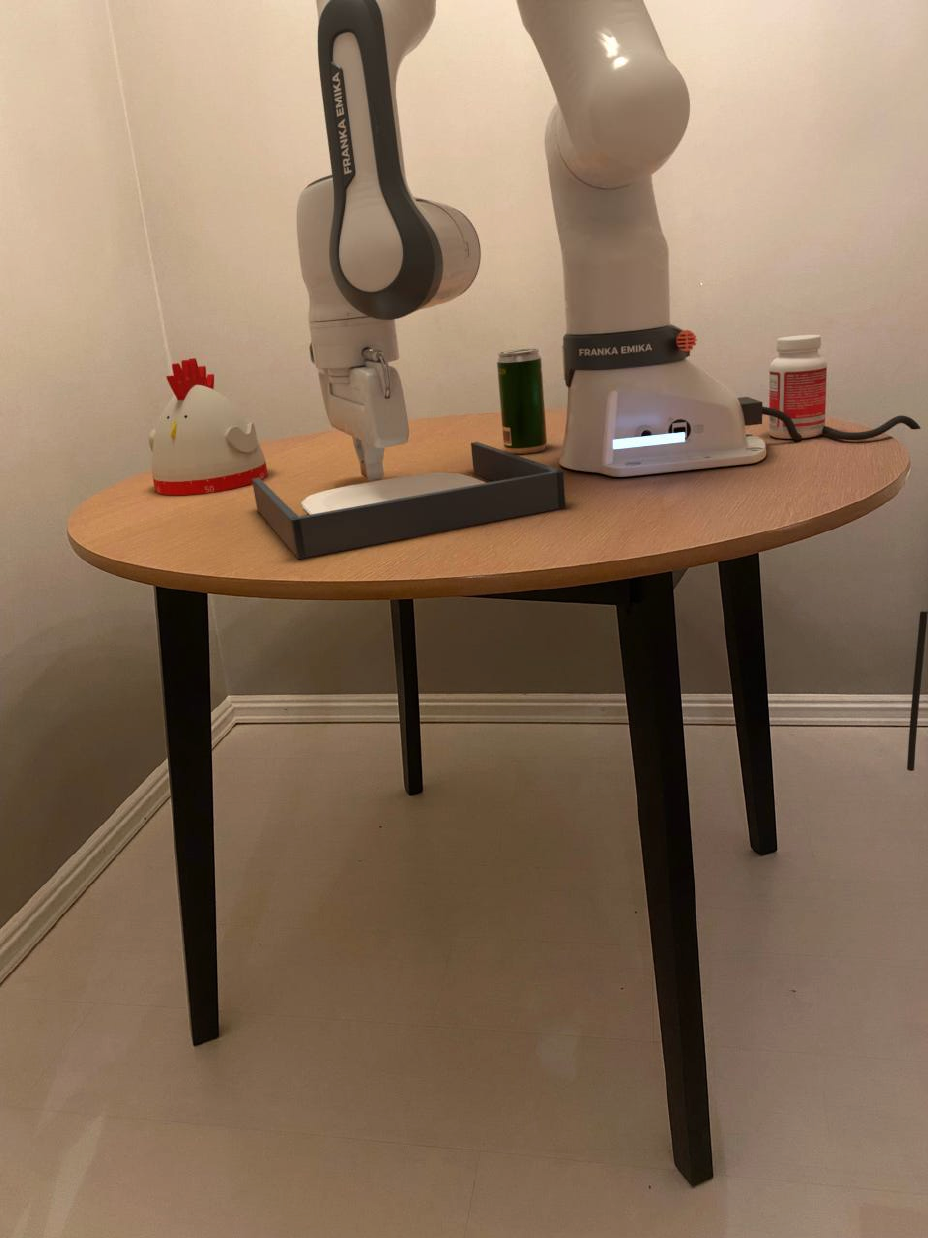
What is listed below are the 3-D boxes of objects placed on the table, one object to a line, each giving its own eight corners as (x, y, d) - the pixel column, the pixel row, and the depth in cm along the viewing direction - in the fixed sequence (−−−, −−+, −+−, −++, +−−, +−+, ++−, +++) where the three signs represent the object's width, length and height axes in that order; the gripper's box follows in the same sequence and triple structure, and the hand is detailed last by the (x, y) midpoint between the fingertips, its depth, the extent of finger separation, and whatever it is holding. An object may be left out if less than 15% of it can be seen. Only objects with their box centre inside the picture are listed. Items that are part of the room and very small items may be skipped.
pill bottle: (835, 432, 109) (839, 333, 105) (803, 441, 106) (805, 340, 102) (790, 428, 114) (792, 333, 110) (757, 437, 110) (758, 340, 107)
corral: (257, 511, 100) (251, 478, 99) (479, 472, 107) (477, 441, 106) (298, 559, 80) (291, 519, 79) (565, 507, 88) (563, 470, 87)
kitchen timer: (131, 495, 114) (103, 369, 109) (198, 470, 126) (175, 356, 121) (227, 494, 110) (203, 362, 104) (287, 468, 121) (268, 349, 116)
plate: (292, 510, 98) (289, 494, 98) (453, 481, 104) (451, 466, 103) (334, 549, 82) (331, 530, 82) (521, 513, 88) (520, 495, 87)
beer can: (521, 456, 114) (513, 354, 110) (495, 451, 118) (487, 353, 114) (556, 448, 116) (549, 348, 112) (529, 444, 121) (522, 348, 117)
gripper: (415, 346, 89) (431, 489, 94) (359, 340, 107) (375, 460, 112) (351, 354, 87) (370, 499, 92) (305, 346, 105) (323, 468, 110)
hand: (372, 477), depth 102 cm, fingers closed
